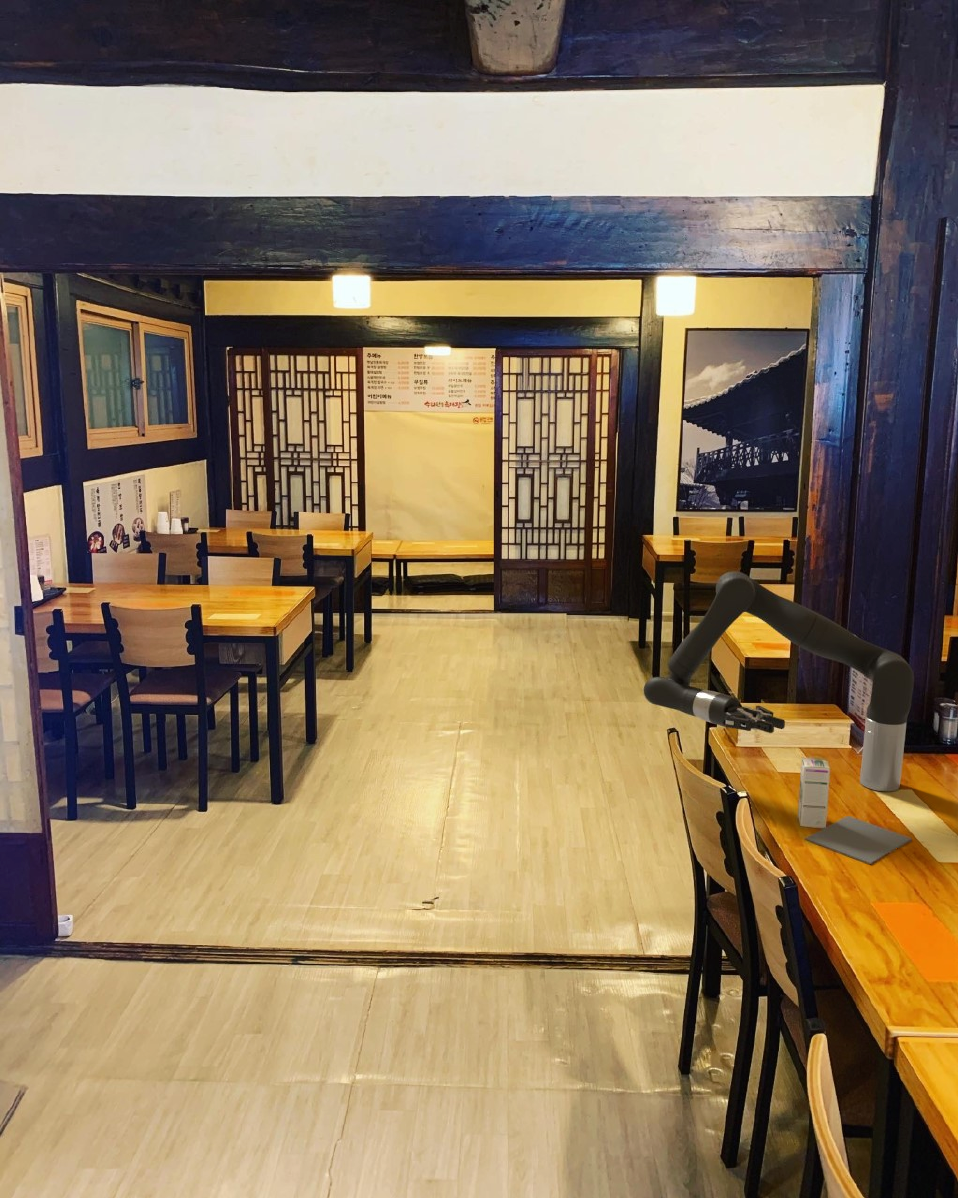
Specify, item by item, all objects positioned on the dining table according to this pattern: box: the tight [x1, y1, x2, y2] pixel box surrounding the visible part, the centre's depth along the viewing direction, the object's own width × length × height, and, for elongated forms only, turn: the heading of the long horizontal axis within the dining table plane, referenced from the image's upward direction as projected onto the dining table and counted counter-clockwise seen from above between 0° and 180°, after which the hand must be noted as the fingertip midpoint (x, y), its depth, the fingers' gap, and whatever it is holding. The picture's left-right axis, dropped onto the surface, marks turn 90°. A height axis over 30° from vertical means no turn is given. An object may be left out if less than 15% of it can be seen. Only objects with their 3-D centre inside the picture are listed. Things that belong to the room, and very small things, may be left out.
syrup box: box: [797, 757, 831, 829], centre depth 223 cm, size 6×6×14 cm
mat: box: [804, 815, 913, 865], centre depth 216 cm, size 18×15×1 cm
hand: (778, 726), depth 228 cm, fingers open, 3 cm apart
